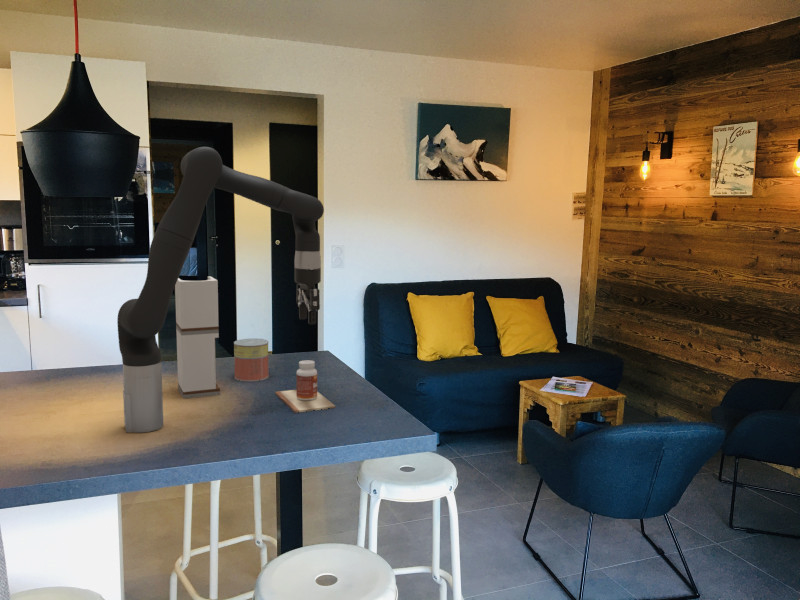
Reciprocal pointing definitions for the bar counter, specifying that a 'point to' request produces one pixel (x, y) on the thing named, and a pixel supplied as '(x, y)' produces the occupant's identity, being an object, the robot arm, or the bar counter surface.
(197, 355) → the white square tower
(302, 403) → the board
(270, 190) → the robot arm
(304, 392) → the pill bottle
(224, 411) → the bar counter surface
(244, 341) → the canned food
